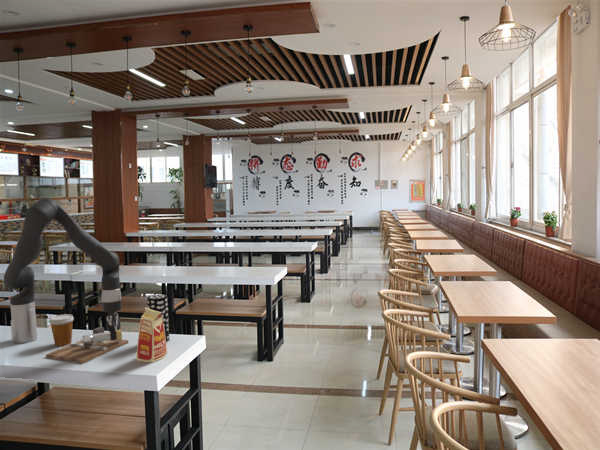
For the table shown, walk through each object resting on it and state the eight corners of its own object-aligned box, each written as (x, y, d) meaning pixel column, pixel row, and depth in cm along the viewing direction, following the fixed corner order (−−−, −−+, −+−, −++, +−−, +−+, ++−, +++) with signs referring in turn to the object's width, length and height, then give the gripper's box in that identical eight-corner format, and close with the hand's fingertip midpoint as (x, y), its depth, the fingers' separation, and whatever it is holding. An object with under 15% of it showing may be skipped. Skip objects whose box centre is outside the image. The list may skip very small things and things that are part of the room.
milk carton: (136, 360, 175) (133, 310, 173) (151, 352, 184) (149, 304, 182) (155, 363, 172) (152, 312, 170) (170, 354, 181) (167, 305, 179)
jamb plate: (46, 357, 181) (45, 342, 180) (93, 338, 203) (92, 325, 202) (83, 363, 173) (82, 348, 173) (128, 342, 195) (127, 329, 195)
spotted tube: (163, 345, 192) (161, 299, 190) (145, 344, 193) (143, 298, 192) (172, 338, 200) (170, 294, 198) (155, 337, 201) (153, 294, 200)
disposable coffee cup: (76, 344, 195) (75, 317, 194) (52, 349, 190) (50, 321, 189) (73, 338, 203) (72, 312, 202) (49, 343, 197) (47, 316, 196)
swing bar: (83, 346, 185) (82, 337, 185) (83, 343, 189) (82, 334, 188) (122, 340, 192) (121, 331, 191) (121, 337, 195) (120, 329, 195)
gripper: (118, 302, 182) (120, 343, 183) (123, 295, 195) (125, 334, 196) (98, 303, 181) (101, 345, 182) (104, 296, 193) (107, 336, 195)
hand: (113, 339), depth 189 cm, fingers closed
